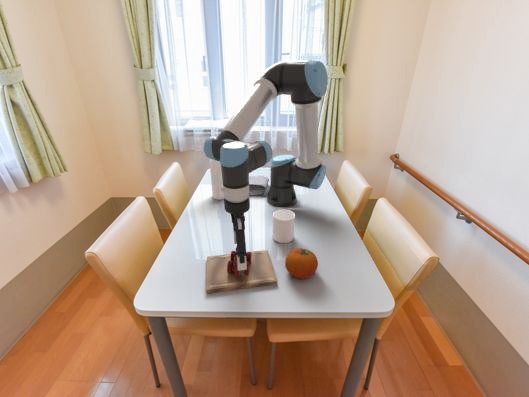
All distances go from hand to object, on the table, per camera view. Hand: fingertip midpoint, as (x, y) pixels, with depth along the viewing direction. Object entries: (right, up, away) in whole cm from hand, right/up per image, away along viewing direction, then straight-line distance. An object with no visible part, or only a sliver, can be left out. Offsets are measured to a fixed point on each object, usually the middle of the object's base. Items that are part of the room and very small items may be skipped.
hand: (240, 255), depth 87 cm
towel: (+1, +22, +62) cm, 66 cm away
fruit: (+20, -6, +2) cm, 21 cm away
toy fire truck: (0, -5, +2) cm, 5 cm away
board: (0, -6, +3) cm, 7 cm away
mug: (+16, +3, +22) cm, 27 cm away
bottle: (-16, +19, +54) cm, 59 cm away
